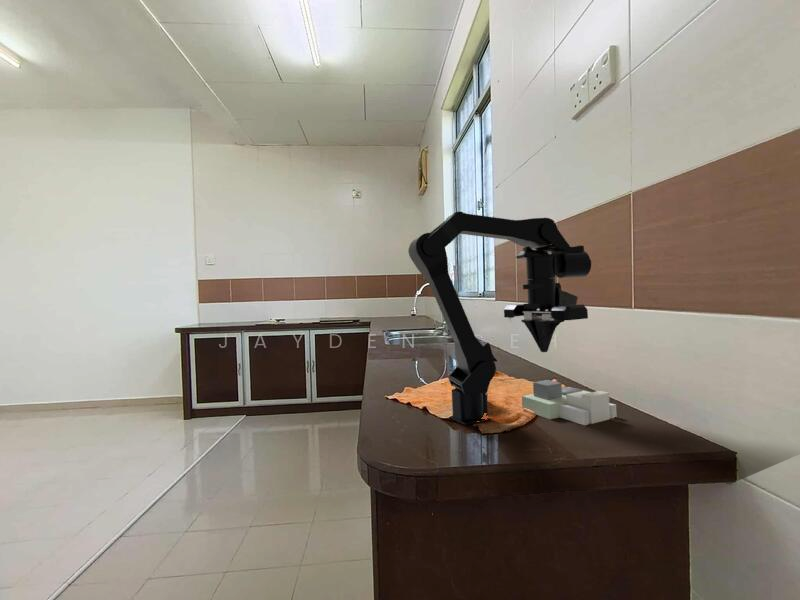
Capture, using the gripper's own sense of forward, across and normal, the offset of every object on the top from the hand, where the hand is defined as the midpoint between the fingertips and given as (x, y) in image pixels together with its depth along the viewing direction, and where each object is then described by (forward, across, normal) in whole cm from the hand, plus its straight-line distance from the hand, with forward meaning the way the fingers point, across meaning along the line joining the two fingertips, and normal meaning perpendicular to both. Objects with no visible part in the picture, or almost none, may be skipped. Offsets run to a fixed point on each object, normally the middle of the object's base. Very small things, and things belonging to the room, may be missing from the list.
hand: (544, 352), depth 87 cm
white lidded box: (+13, -8, -3) cm, 15 cm away
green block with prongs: (+13, -4, -3) cm, 13 cm away
